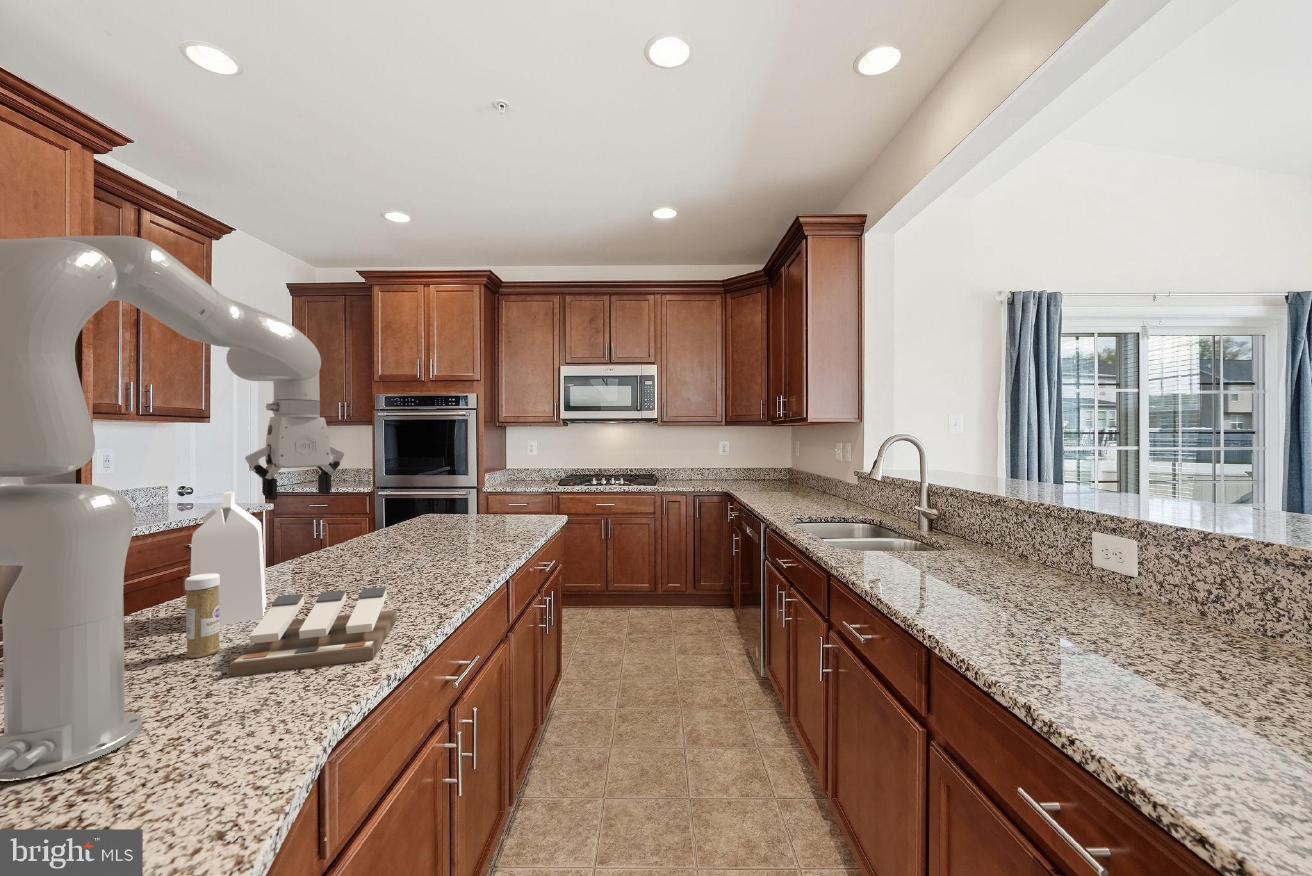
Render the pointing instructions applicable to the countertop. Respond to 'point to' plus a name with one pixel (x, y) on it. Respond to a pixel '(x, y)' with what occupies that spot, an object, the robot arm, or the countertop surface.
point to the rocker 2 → (366, 610)
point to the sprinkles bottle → (202, 615)
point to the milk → (232, 560)
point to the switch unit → (315, 647)
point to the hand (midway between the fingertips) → (298, 496)
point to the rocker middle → (323, 614)
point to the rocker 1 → (277, 619)
